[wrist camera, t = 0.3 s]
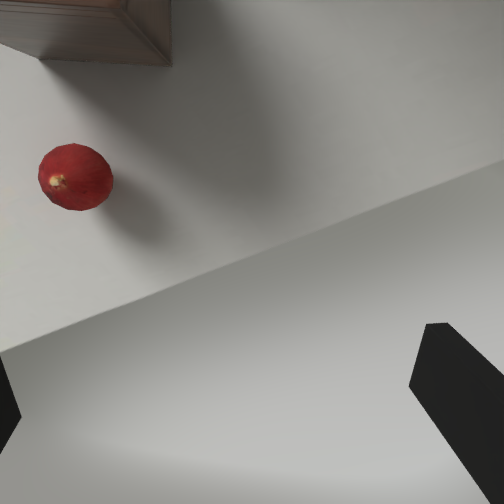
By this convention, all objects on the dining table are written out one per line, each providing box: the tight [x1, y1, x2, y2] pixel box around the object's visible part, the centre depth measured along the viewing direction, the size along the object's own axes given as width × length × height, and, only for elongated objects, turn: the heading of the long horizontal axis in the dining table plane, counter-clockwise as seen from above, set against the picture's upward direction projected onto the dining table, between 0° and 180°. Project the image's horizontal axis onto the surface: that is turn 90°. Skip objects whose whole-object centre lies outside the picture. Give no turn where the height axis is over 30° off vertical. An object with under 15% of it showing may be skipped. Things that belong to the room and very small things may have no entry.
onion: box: [38, 143, 113, 211], centre depth 30 cm, size 6×6×8 cm
